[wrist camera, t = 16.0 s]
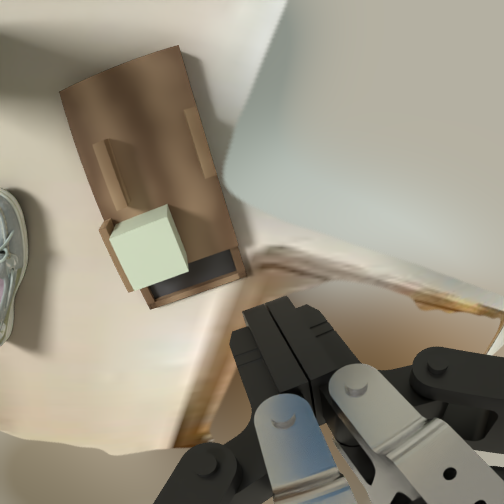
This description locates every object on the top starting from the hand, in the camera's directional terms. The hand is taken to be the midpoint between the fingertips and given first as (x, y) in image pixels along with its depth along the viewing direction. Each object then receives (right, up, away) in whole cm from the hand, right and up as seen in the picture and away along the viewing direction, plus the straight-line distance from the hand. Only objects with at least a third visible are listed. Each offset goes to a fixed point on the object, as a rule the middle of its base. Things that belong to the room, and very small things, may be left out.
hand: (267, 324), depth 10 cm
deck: (-11, +10, +23) cm, 28 cm away
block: (-11, +4, +23) cm, 26 cm away
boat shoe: (-34, 0, +22) cm, 41 cm away
